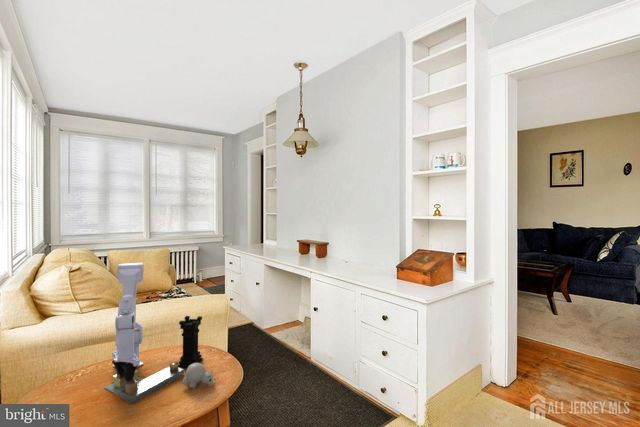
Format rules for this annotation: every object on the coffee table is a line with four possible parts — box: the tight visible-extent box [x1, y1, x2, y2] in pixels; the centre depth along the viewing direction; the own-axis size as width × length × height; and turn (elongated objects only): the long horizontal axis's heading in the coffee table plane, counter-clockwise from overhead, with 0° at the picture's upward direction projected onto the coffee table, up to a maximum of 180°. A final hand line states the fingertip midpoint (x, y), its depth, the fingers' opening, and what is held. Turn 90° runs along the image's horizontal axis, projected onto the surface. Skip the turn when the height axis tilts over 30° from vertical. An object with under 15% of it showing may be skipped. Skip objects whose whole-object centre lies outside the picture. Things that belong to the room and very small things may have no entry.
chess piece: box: [178, 315, 204, 369], centre depth 145 cm, size 8×8×20 cm
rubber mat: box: [103, 376, 145, 397], centre depth 129 cm, size 9×11×1 cm
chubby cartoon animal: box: [181, 362, 216, 390], centre depth 129 cm, size 7×12×8 cm, turn 89°
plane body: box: [119, 361, 185, 405], centre depth 128 cm, size 22×7×6 cm, turn 152°
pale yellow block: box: [112, 369, 139, 388], centre depth 128 cm, size 7×4×4 cm, turn 152°
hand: (125, 378), depth 128 cm, fingers closed on pale yellow block, 4 cm apart
